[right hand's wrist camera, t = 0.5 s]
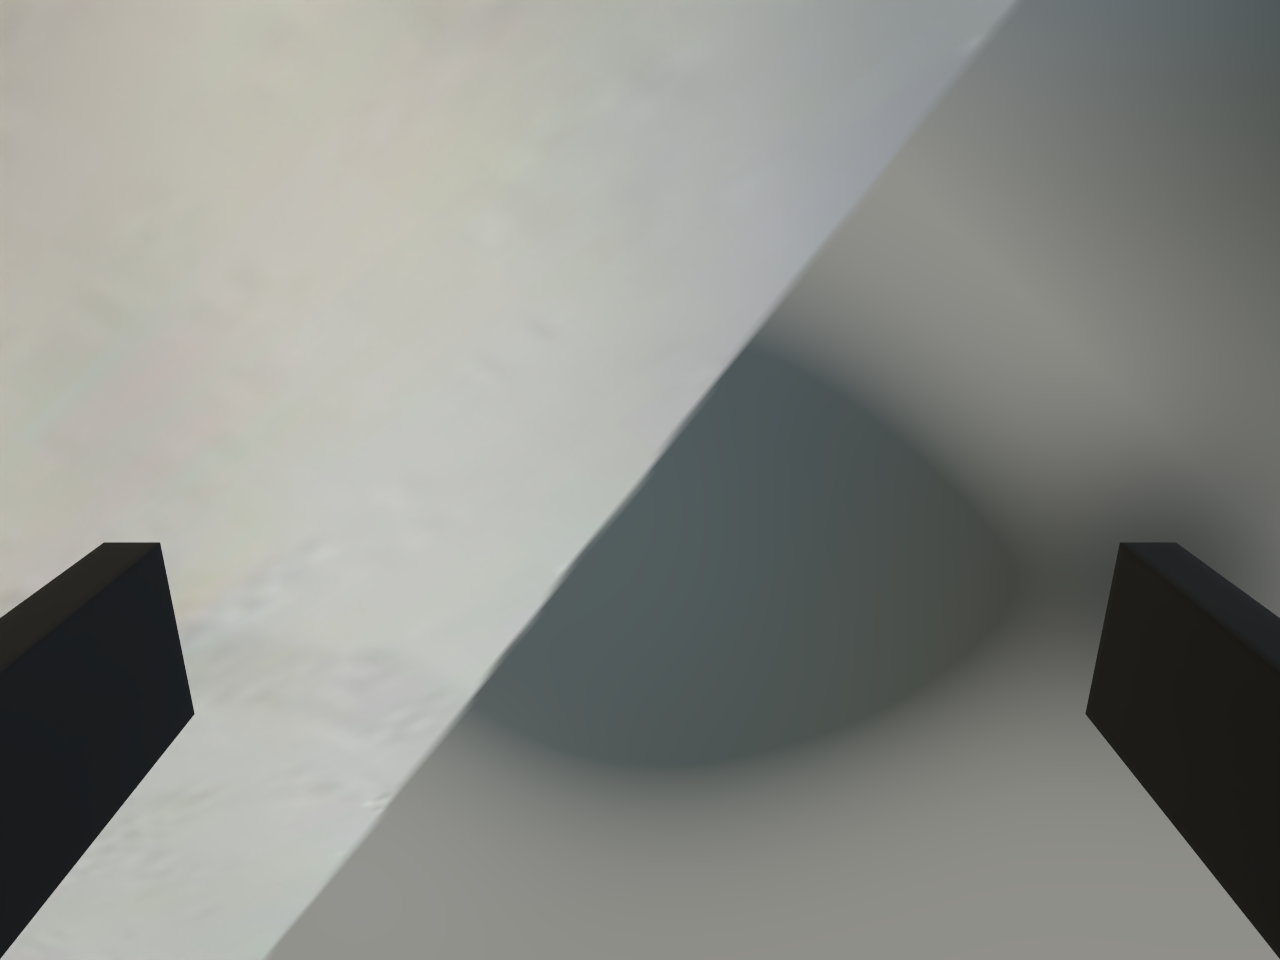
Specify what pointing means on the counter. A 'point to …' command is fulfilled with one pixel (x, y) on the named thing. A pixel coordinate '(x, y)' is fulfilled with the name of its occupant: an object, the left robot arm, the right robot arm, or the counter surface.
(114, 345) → the counter surface
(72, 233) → the counter surface
